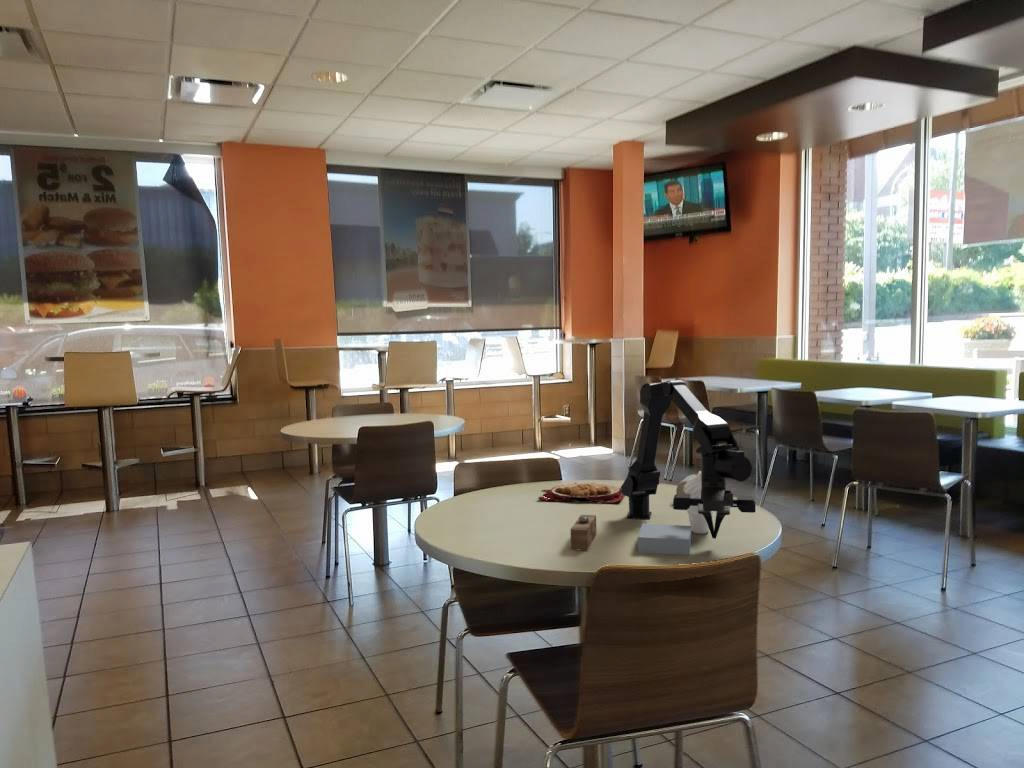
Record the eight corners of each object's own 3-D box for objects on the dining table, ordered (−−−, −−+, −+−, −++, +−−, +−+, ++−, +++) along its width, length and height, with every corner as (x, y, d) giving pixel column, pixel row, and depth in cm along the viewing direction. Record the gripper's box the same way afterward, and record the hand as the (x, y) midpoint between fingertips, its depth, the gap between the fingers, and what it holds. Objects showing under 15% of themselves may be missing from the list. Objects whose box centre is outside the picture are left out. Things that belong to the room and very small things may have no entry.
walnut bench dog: (581, 533, 190) (580, 510, 190) (596, 534, 189) (596, 510, 189) (571, 549, 177) (570, 524, 176) (587, 550, 176) (586, 525, 175)
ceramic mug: (674, 503, 220) (674, 478, 219) (683, 497, 226) (683, 473, 226) (709, 507, 214) (709, 481, 213) (717, 501, 221) (717, 476, 220)
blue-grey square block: (642, 539, 185) (642, 523, 184) (691, 541, 182) (691, 525, 181) (637, 553, 173) (637, 537, 173) (689, 556, 170) (689, 539, 170)
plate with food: (620, 507, 220) (620, 495, 220) (538, 502, 227) (538, 491, 227) (629, 490, 243) (629, 480, 243) (554, 486, 250) (554, 476, 250)
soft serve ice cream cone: (677, 529, 191) (676, 469, 190) (704, 525, 194) (703, 466, 193) (696, 537, 183) (695, 475, 182) (723, 533, 186) (723, 471, 185)
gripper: (671, 479, 168) (672, 546, 169) (756, 482, 163) (756, 550, 164) (674, 470, 178) (675, 532, 180) (754, 472, 173) (754, 536, 175)
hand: (714, 538), depth 174 cm, fingers closed
